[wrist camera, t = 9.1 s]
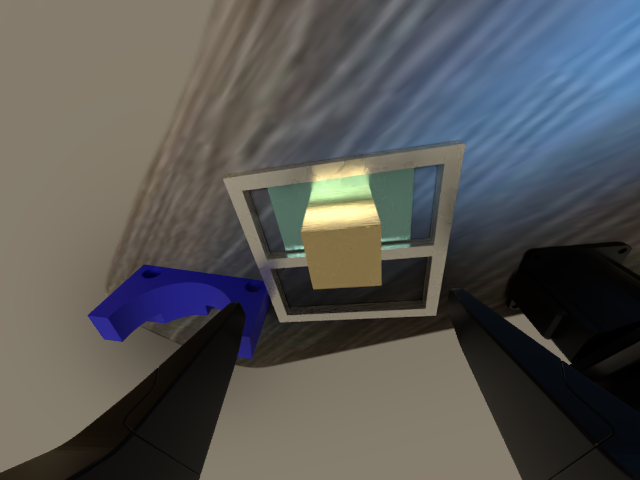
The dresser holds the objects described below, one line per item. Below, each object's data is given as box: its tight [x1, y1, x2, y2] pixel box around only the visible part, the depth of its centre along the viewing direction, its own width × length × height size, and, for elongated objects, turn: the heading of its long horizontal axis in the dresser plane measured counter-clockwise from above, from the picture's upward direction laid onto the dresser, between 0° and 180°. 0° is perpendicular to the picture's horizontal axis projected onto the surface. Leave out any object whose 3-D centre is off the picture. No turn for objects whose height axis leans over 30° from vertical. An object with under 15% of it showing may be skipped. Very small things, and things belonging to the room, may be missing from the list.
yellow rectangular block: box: [300, 185, 382, 289], centre depth 15 cm, size 4×4×6 cm
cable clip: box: [88, 265, 270, 359], centre depth 21 cm, size 12×4×6 cm, turn 83°
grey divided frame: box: [223, 140, 466, 322], centre depth 19 cm, size 15×15×1 cm
